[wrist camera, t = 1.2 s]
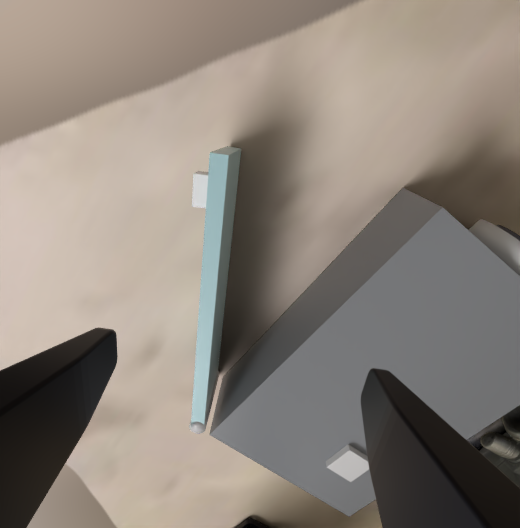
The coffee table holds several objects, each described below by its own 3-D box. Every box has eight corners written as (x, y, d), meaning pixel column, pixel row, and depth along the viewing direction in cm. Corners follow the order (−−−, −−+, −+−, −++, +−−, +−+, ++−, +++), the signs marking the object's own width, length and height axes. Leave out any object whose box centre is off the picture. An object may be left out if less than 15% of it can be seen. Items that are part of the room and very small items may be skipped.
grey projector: (337, 450, 27) (350, 523, 22) (222, 377, 25) (208, 440, 20) (553, 284, 20) (641, 335, 15) (423, 166, 18) (476, 180, 13)
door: (218, 379, 25) (204, 434, 20) (193, 375, 25) (174, 429, 20) (243, 148, 18) (230, 155, 14) (209, 143, 18) (186, 149, 14)
